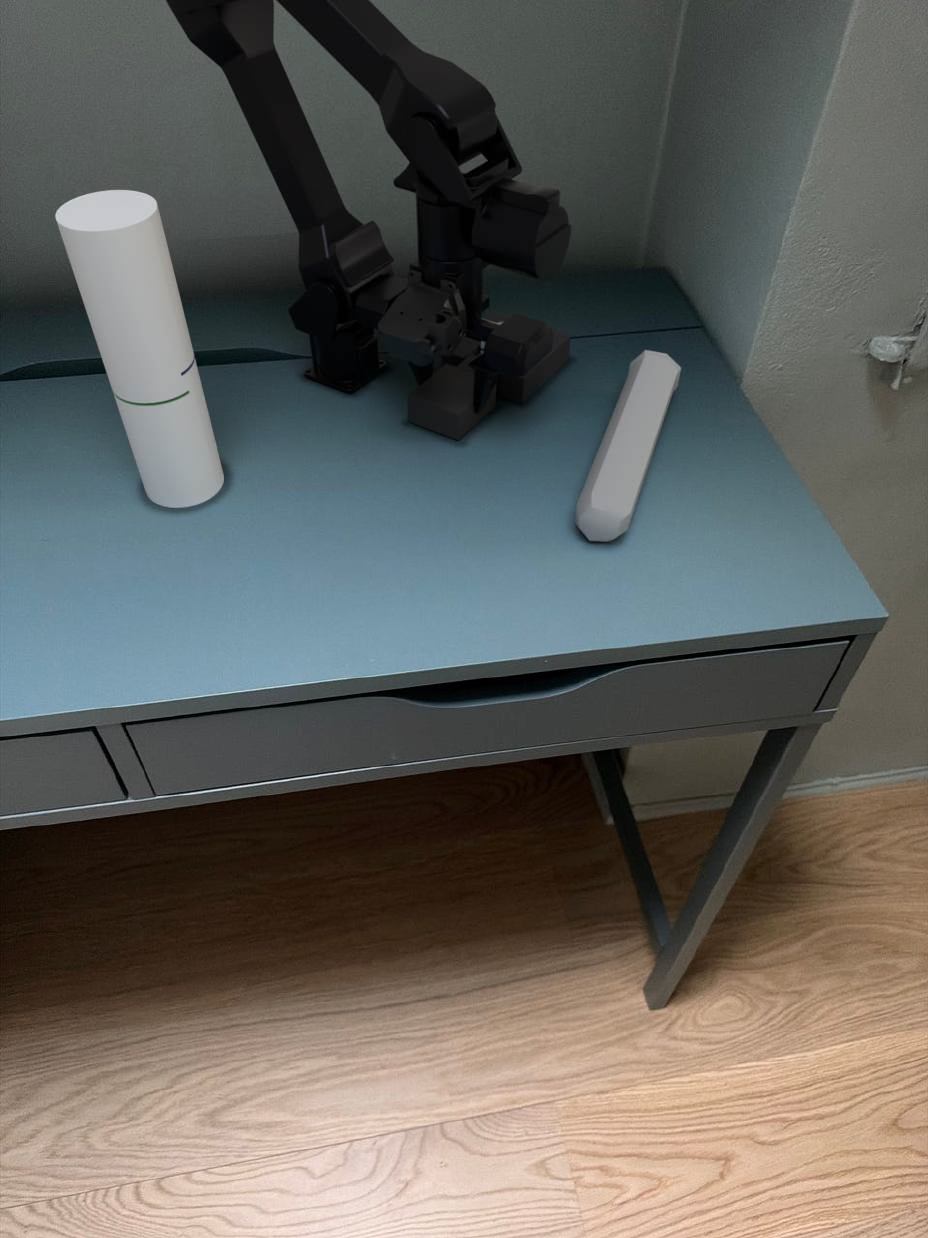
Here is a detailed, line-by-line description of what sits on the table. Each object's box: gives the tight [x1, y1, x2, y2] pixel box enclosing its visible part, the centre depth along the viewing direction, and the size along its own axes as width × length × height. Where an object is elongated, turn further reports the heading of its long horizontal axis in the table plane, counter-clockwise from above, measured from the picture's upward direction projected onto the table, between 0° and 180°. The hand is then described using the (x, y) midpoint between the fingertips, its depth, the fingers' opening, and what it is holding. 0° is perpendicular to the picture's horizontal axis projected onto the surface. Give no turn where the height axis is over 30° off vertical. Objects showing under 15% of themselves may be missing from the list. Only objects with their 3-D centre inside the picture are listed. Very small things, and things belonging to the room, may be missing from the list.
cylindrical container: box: [54, 189, 225, 509], centre depth 74 cm, size 7×7×25 cm
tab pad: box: [406, 355, 500, 441], centre depth 91 cm, size 6×10×3 cm, turn 147°
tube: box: [574, 349, 682, 542], centre depth 84 cm, size 5×5×25 cm
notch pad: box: [440, 310, 572, 405], centre depth 96 cm, size 10×10×3 cm
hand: (451, 401), depth 90 cm, fingers closed on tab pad, 6 cm apart
